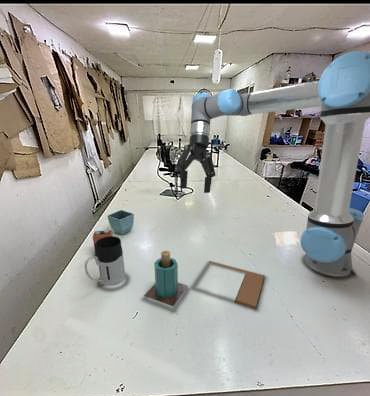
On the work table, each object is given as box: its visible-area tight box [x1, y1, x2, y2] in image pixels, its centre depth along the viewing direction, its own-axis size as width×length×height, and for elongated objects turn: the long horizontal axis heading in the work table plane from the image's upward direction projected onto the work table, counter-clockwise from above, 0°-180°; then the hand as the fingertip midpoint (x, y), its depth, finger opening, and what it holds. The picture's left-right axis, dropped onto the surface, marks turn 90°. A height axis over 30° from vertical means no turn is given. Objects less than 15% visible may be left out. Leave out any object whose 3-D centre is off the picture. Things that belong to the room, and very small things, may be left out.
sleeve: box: [153, 257, 179, 298], centre depth 70 cm, size 6×6×10 cm
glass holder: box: [84, 235, 126, 286], centre depth 73 cm, size 9×14×15 cm, turn 155°
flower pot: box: [106, 209, 135, 236], centre depth 110 cm, size 9×9×9 cm
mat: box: [208, 260, 265, 310], centre depth 78 cm, size 20×16×1 cm
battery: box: [92, 229, 114, 257], centre depth 93 cm, size 4×7×10 cm, turn 100°
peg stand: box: [143, 250, 189, 308], centre depth 70 cm, size 10×10×15 cm
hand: (195, 190), depth 93 cm, fingers open, 13 cm apart
